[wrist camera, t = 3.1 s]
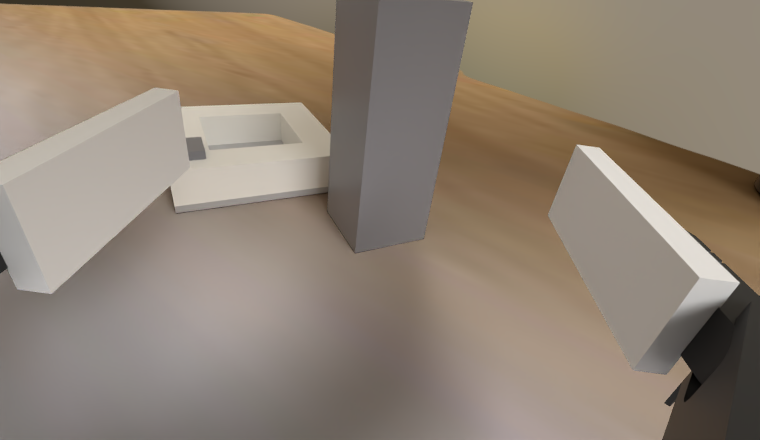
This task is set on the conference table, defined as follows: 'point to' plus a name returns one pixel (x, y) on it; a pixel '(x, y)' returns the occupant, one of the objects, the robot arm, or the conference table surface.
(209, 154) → the socket
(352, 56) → the plug
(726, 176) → the conference table surface
